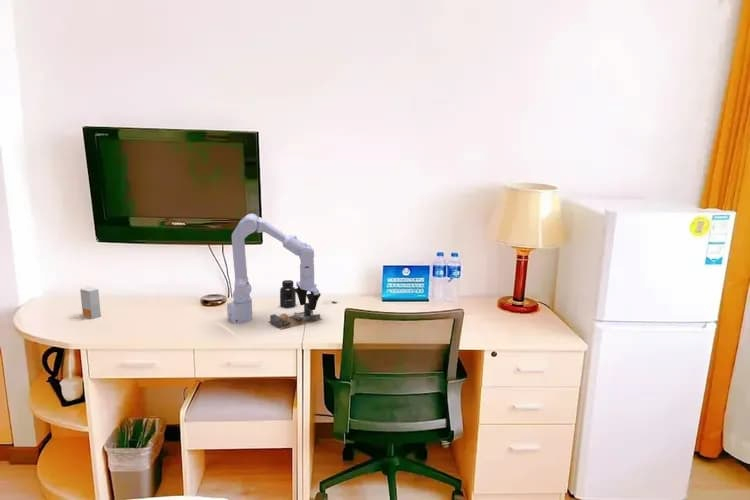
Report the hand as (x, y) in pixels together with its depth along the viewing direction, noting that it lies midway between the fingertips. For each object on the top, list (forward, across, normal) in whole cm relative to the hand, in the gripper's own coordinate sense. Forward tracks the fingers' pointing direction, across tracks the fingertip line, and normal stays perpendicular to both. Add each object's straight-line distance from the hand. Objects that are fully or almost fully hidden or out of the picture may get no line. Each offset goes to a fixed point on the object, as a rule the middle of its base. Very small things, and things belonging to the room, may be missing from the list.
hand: (307, 307), depth 230 cm
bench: (+6, 0, +6) cm, 8 cm away
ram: (+4, 0, +2) cm, 5 cm away
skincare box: (+5, +55, +70) cm, 89 cm away
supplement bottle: (+6, +18, -1) cm, 19 cm away
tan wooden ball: (+4, 0, +11) cm, 12 cm away
